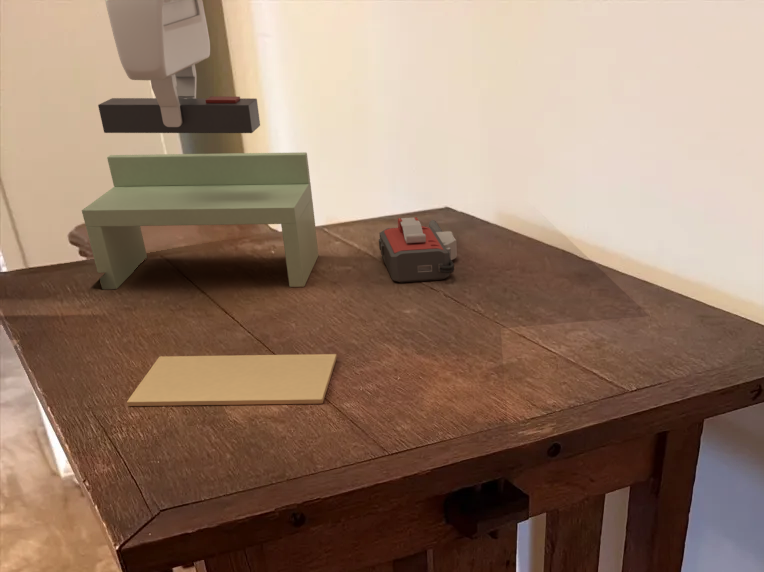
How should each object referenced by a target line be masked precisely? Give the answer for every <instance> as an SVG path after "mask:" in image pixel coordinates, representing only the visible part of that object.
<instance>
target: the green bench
mask: <svg viewBox="0 0 764 572" xmlns="http://www.w3.org/2000/svg"><path fill="white" fill-rule="evenodd" d="M106 160H107V163H108V167H109V171H110V176H111V181H112V184H113V187H112V188H110V189H109V190H108V191H106V192H105V193H103V194H102V195H101V196H99V197H97V198H96V199H95V200H94V201H92V202H91V203H89V204H88V205H87V206H86V207H84V208H83V209H81V214H82V217H83V221H84V222H83V223H84V226H85V229H86V233H87V236H88V240H89V243H90V244H89V245H90V248H91V251H92V255H93V256H92V257H93V259H94V263H95V267H96V271H97V273H99V274H103V275H102V276H100V277H99V282H100V283H99V284H100V286H101V289H102V290H117V289H118V288H119V287H120V286H121V285H122V284H123V283H124V282H125V281H127V279H129V277H130V276H131V275H133V273H134V272H135V271H136V270H137V269H138V268H139V267H138V265H139V264H140V263H141V262H142V261H143V260H144V259H145V258H146V259H147V258H148V255H147V254H148V253H147V250H146V246H145V241H144V237H143V232H142V227H160V226H161V227H163V226H165V227H167V226H169V227H170V226H231V225H232V226H233V225H234V226H235V225H238V226H239V225H240V226H241V225H243V226H244V225H281V233H282V241H283V249H284V256H285V263H286V270H287V278H288V285H289V286H288V287H289V288H302V287H305V286H306V283H307V281H308V279H309V277H310V275H311V273H312V271H313V268H314V267H315V264H316V262H317V260H318V258H319V245H318V236H317V228H316V219H315V211H314V202H313V194H312V183H311V176H310V168H309V160H308V153H307V152H306V151H305V152H303V151H301V152H242V153H241V152H238V153H237V152H235V153H233V152H232V153H229V152H228V153H173V154H172V153H167V154H160V153H159V154H157V153H155V154H110V155H108V156H107V158H106ZM146 259H145V260H146ZM137 267H138V268H137ZM136 268H137V269H136ZM135 269H136V270H135ZM134 270H135V271H134Z"/></svg>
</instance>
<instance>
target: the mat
mask: <svg viewBox="0 0 764 572" xmlns="http://www.w3.org/2000/svg"><path fill="white" fill-rule="evenodd" d="M337 355H338V354H337V353H325V354H324V353H323V354H322V353H319V354H318V353H317V354H313V353H312V354H311V353H310V354H248V355H247V354H246V355H245V354H243V355H242V354H241V355H235V354H234V355H233V354H232V355H173V356H170V355H167V356H166V355H163V356H158V358H157V359H156V360H155V362H154V363H153V365H152V366H151V368H150V369H149V371H148V372H147V373H146V375H145V376H144V377H143V379H142V380H141V381H140V383H139V384H138V385H137V387H136V388H135V390H134V391H133V393H132V394H131V395H130V397H129V398H128V400H127V401H126V404H127V407H168V406H175V407H176V406H178V407H179V406H227V405H228V406H237V405H238V406H239V405H240V406H241V405H242V406H244V405H246V406H247V405H249V406H250V405H312V404H313V405H314V404H315V405H316V404H317V405H319V404H321V405H323V404H324V401H325V397H326V394H327V391H328V387H329V384H330V382H331V378H332V375H333V372H334V368H335V366H336V362H337V359H338V356H337Z"/></svg>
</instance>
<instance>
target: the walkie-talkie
mask: <svg viewBox="0 0 764 572" xmlns="http://www.w3.org/2000/svg"><path fill="white" fill-rule="evenodd" d="M457 245H458V241H457V239H456V238H455V237H454V233H453V232H452V231H451V230H447V231H443V229H441V227H440V226H439V223H437V220H434V219H431V220H429V223H428V226H426V225H422V223H421V221H419V218H418V217H414V216H413V217H399V218H397V227H388V228H386V229H384V230H382V231H380V232H379V239H378V248H379V251H380V255H381V258H382V260H383V262H384V264H385V266H386V269H387V271H388V273H389V276H390V278H391V280H392V281H394V282H397V283H413V282H414V283H415V282H427V281H429V282H430V281H440V280H445V279H447V278H448V277H450V274H452V273H454V271H455V264H454V262H453V260H455V259H456V258H457V256H458V251H457V250H458V246H457Z"/></svg>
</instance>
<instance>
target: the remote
mask: <svg viewBox="0 0 764 572" xmlns="http://www.w3.org/2000/svg"><path fill="white" fill-rule="evenodd" d="M178 99H179V103H180V105H182V109H183V116H184V123H183V124H182V125H181V126H179V127H167V126H165V125H164V123H163V119H162V114H161V108H160V106H159V104H158V101H157V99H156V97H154V98H153V97H149V98H148V97H112V98H109V99H108V100H105V101H103V102H101V103H98V105H97V107H98V111H99V116H100V120H101V124H102V129H103V133H104V134H253V133H254V132H255V131H256V130H257V129H258V128H259V127H260V126H261V121H260V120H261V119H260V113H259V106H258V105H259V104H258V99H257V98H243V97H242V98H241V96H221V95H219V96H218V95H217V96H213V95H212V96H209V97H207V98H205V97H204V98H202V97H201V98H200V97H199V98H198V97H196V98H178Z"/></svg>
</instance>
